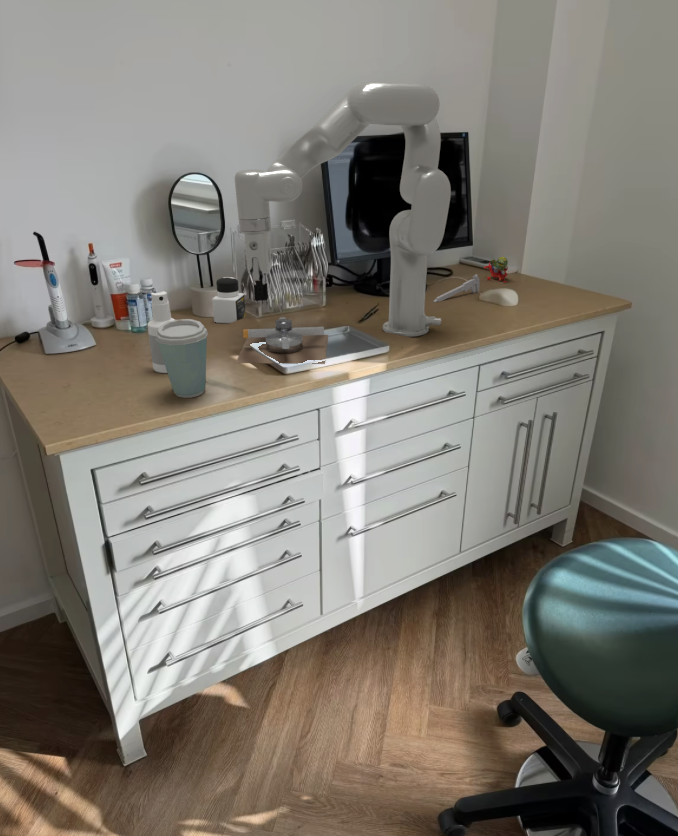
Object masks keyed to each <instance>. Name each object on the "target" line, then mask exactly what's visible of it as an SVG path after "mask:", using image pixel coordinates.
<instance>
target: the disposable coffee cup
mask: <svg viewBox="0 0 678 836" xmlns="http://www.w3.org/2000/svg"><path fill="white" fill-rule="evenodd" d="M208 334H209V332H208V329H207V328H206V327H205V325H204V324H202V322H201V321H199V320H195V319H192V318H185V319H184V318H182V319H175V320H173V321H168V322H166V323H164V324H162V325H160V326H159V328H158V330H157V334H156V335H155V337H156V339H155V340H157V342H158V345H159V348H160V351H161V354H162V357H163V360H164V364H165V367H166V370H167V373H166V374H167V376H168V379H169V382H170V385H171V388H172V391H173V392H174V395H175V396H177V397H178V398H182V397H183V399H188V398H189V399H190V398H195V397H198V396H200V395H202V394H204V392H205V389H206V377H207V376H206V375H207V346H208V345H207V343H208V341H207V340H208Z"/></svg>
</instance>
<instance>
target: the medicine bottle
mask: <svg viewBox="0 0 678 836" xmlns="http://www.w3.org/2000/svg"><path fill="white" fill-rule="evenodd" d="M216 292H217V293H216V294H217V295H215V296H214V297H212V299H211V300H212V302H211V303H212V312H213V313H212V314H213V322H214V323H215V322H216V324H217V323H218V324H229V323H230V324H232V323H234V322H237V321H240V320H242V319H245V318H246V304H245V303H246V302H245V293H243V292H240V290H239V280H238V279H237V278H236V277H230V276H224V277H221V278H218V279H217V280H216Z"/></svg>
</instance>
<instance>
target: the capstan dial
mask: <svg viewBox="0 0 678 836" xmlns="http://www.w3.org/2000/svg"><path fill="white" fill-rule="evenodd" d="M292 321H293V320H292V319H288V318H286V316H281V317H279V319H276V320H275V323H274V324H275V328H274V327H273V328H251V329H249V328H246V329H245V328H244V329H242V336H243V339H247V338H253V337H266V348H267V350H269V351H271V352H275V353H291V352H296V351H299V350H301V349H302V347H303V340H302V336H308V335H325V328H324V327H325V326H311V327H310V326H308V327H305V326H304V327H302V326H301V327H293V322H292Z"/></svg>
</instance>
